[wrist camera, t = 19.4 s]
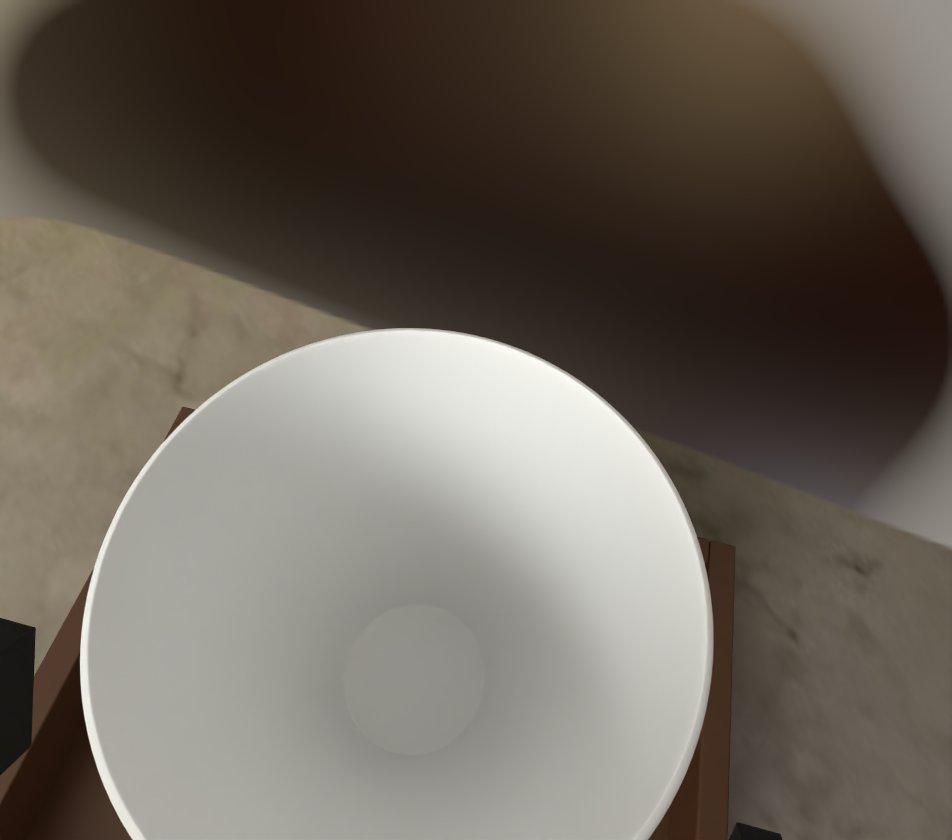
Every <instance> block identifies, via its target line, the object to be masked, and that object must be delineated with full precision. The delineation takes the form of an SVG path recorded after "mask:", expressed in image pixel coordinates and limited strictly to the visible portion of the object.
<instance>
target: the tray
mask: <svg viewBox="0 0 952 840" xmlns="http://www.w3.org/2000/svg"><path fill="white" fill-rule="evenodd" d="M194 411H195V410H194V409H190V408H186V407H182V409H181V411H180V413H179V414H178V416H177V418H176V420H175V422H174V423H173V425H172V427H171V429H170V431H169V433H168V434H167V436H166V438H165V440H166V439H167V438H168V437H169V436H170V434H171V433H172V432H173V431H174V430H175V429H176V428H177V427H178V426H179V425H180V424H181V423H182V422H183V421H184V420H185V419H186V418H187V417H188V416H189V415H190V414H192V413H193V412H194ZM165 440H164V441H165ZM697 539H698V542H699V545H700V548H701V552H702V555H703V559H704V563H705V568H706V572H707V577H708V582H709V588H710V595H711V603H712V613H713V641H714V646H713V665H712V677H711V684H710V691H709V697H708V703H707V708H706V713H705V717H704V721H703V725H702V729H701V732H700V736H699V739H698V742H697V745H696V748H695V751H694V754H693V757H692V760H691V762H690V765H689V767H688V769H687V772H686V774H685V777H684V779H683V781H682V783H681V785H680V787H679V790H678V791H677V793H676V795H675V797H674V799H673V801H672V803H671V805H670V807H669V808H668V810H667V812H666V813H665V815H664V817H663V818H662V820H661V822H660V823H659V825H658V826H657V828H656V829H655V830H654V832H653V833H652V835H651V836H650V838H649V839H648V840H727V835H728V799H729V762H730V725H731V689H732V652H733V615H734V579H735V547H734V546H732V545H728V544H724V543H720V542H716V541H710V542H709V540H707V539H704V538H700V537H697ZM93 571H94V569H93ZM93 571H92V572H91V574H90V576H89V578H88V580H87V581H86V583H85V585H84V587H83V589H82V591H81V592H80V594H79V596H78V598H77V600H76V601H75V603H74V605H73V607H72V609H71V610H70V612H69V614H68V616H67V618H66V620H65V621H64V623H63V625H62V627H61V629H60V630H59V632H58V634H57V636H56V638H55V640H54V641H53V643H52V645H51V647H50V649H49V650H48V652H47V654H46V656H45V658H44V660H43V661H42V663H41V665H40V667H39V669H38V670H37V672H36V674H35V676H34V687H33V715H32V743H31V747H30V748H29V749H28V750H27V751H26V752H25V753H23V754H22V755H21V756H20V757H19V758H18V759H17V760H16V761H15V762H14V763H13V764H12V765H11V766H10V767H9V768H8V769H7V770H6V771H5V772H4V773H3V774H1V775H0V840H132V838H131V837H130V835H129V833H128V832H127V830H126V828H125V827H124V825H123V823H122V822H121V820H120V818H119V816H118V814H117V812H116V811H115V809H114V807H113V805H112V803H111V801H110V798H109V796H108V794H107V792H106V789H105V787H104V785H103V782H102V779H101V777H100V774H99V771H98V769H97V766H96V762H95V759H94V756H93V753H92V749H91V745H90V741H89V737H88V733H87V728H86V723H85V718H84V711H83V703H82V694H81V682H80V647H81V634H82V624H83V617H84V610H85V605H86V599H87V594H88V590H89V586H90V581H91V578H92V574H93Z"/></svg>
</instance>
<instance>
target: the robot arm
mask: <svg viewBox="0 0 952 840" xmlns="http://www.w3.org/2000/svg"><path fill="white" fill-rule="evenodd" d="M35 630H36V628H35V627H31V626H27V625H24V624H20V623H17V622H13V621H9V620H6V619H2V618H0V775H1V774H3V773H4V772H5V771H6V770H7V769H8V768H9V767H10V766H11V765H12V764H13V763H14V762H15V761H16V760H17V759H18V758H19V757H20V756H21V755H22V754H23V753H25V752H26V751H27V750H28V749H29V748H30V747H31V743H32V715H33V687H34V659H35ZM729 840H782V837H781V835H780V834H778V833H774V832H771V831H767V830H764V829H760V828H756V827H753V826H749V825H746V824H742V823H738V822H737V823H736V826H735V828H734V830H733V832H732V834H731V837H730V839H729Z"/></svg>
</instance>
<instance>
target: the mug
mask: <svg viewBox="0 0 952 840" xmlns="http://www.w3.org/2000/svg"><path fill="white" fill-rule="evenodd" d="M713 646H714V641H713V613H712V603H711V595H710V588H709V582H708V577H707V572H706V568H705V563H704V559H703V555H702V552H701V548H700V545H699V542H698V539H697V536H696V533H695V530H694V527H693V525H692V522H691V520H690V517H689V515H688V512H687V510H686V508H685V506H684V503H683V501H682V499H681V497H680V495H679V493H678V491H677V489H676V487H675V486H674V484H673V482H672V480H671V478H670V477H669V475H668V474H667V472H666V470H665V469H664V467H663V466H662V464H661V463H660V461H659V460H658V458H657V457H656V455H655V454H654V452H653V451H652V450H651V448H650V447H649V446H648V444H647V443H646V442H645V441H644V439H643V438H642V437H641V436H640V435H639V433H638V432H637V431H636V430H635V429H634V428H633V427H632V426H631V424H630V423H629V422H628V421H627V420H626V419H625V418H624V417H623V416H622V415H621V414H620V413H619V412H618V411H616V410H615V408H613V407H612V406H611V405H610V404H609V403H608V402H607V401H606V400H604V399H603V398H602V397H601V396H599V395H598V394H597V393H596V392H595V391H593V390H592V389H591V388H589V387H588V386H586V385H585V384H584V383H582V382H581V381H579V380H578V379H576V378H575V377H573V376H572V375H570V374H569V373H567V372H565V371H564V370H562V369H560V368H558V367H557V366H555V365H553V364H551V363H549V362H547V361H545V360H543V359H541V358H539V357H537V356H535V355H533V354H531V353H528V352H526V351H523V350H520V349H518V348H515V347H513V346H510V345H507V344H504V343H501V342H498V341H494V340H491V339H488V338H484V337H480V336H475V335H470V334H465V333H459V332H453V331H446V330H436V329H421V328H420V329H419V328H418V329H417V328H397V329H381V330H372V331H364V332H358V333H352V334H347V335H342V336H338V337H334V338H329V339H326V340H322V341H319V342H315V343H312V344H309V345H306V346H303V347H301V348H298V349H295V350H293V351H290V352H288V353H285V354H283V355H281V356H278V357H276V358H274V359H272V360H270V361H268V362H266V363H264V364H262V365H260V366H258V367H256V368H255V369H253V370H251V371H249V372H247V373H246V374H244V375H242V376H241V377H239V378H238V379H236V380H234V381H233V382H231V383H230V384H228V385H227V386H226V387H224V388H223V389H221V390H220V391H219V392H217V393H216V394H215V395H213V396H212V397H211V398H209V399H208V400H207V401H206V402H204V403H203V404H202V405H201V406H200V407H198V408H197V409H196V410H195V411H194V412H193V413H192V414H190V415H189V416H188V417H187V418H186V419H185V420H184V421H183V422H182V423H181V424H180V425H179V426H178V427H177V428H176V429H175V430H174V431H173V432H172V433H171V434H170V436H169V437H168V438H167V439H166V440H165V441H164V442H163V443H162V445H161V446H160V447H159V448H158V449H157V451H156V452H155V453H154V454H153V456H152V457H151V458H150V460H149V461H148V462H147V464H146V465H145V466H144V468H143V469H142V470H141V472H140V473H139V475H138V476H137V478H136V479H135V481H134V482H133V484H132V486H131V487H130V489H129V491H128V492H127V494H126V496H125V497H124V499H123V501H122V503H121V505H120V506H119V508H118V510H117V512H116V514H115V516H114V519H113V521H112V523H111V525H110V527H109V530H108V532H107V534H106V536H105V539H104V542H103V544H102V547H101V549H100V552H99V555H98V558H97V561H96V564H95V567H94V571H93V574H92V578H91V581H90V586H89V590H88V594H87V599H86V605H85V610H84V617H83V624H82V634H81V647H80V682H81V694H82V703H83V711H84V718H85V723H86V728H87V733H88V737H89V741H90V745H91V749H92V753H93V756H94V759H95V762H96V766H97V769H98V771H99V774H100V777H101V779H102V782H103V785H104V787H105V789H106V792H107V794H108V796H109V798H110V801H111V803H112V805H113V807H114V809H115V811H116V812H117V814H118V816H119V818H120V820H121V822H122V823H123V825H124V827H125V828H126V830H127V832H128V833H129V835H130V837H131V838H132V840H648V839H649V838H650V836H651V835H652V833H653V832H654V830H655V829H656V828H657V826H658V825H659V823H660V822H661V820H662V818H663V817H664V815H665V813H666V812H667V810H668V808H669V807H670V805H671V803H672V801H673V799H674V797H675V795H676V793H677V791H678V790H679V787H680V785H681V783H682V781H683V779H684V777H685V774H686V772H687V769H688V767H689V765H690V762H691V760H692V757H693V754H694V751H695V748H696V745H697V742H698V739H699V736H700V732H701V729H702V725H703V721H704V717H705V713H706V708H707V703H708V697H709V691H710V684H711V677H712V665H713Z"/></svg>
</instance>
